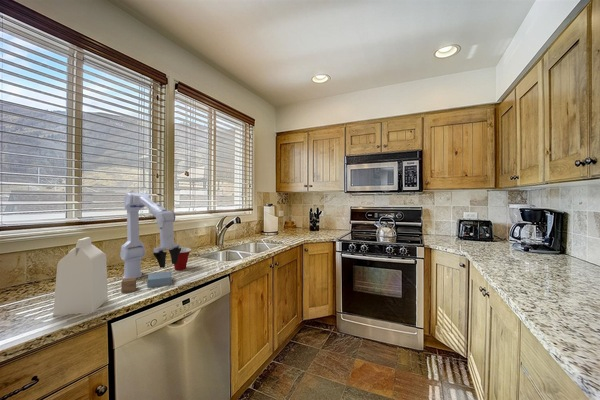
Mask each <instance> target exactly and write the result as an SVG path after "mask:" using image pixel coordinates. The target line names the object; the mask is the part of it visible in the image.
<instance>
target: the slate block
mask: <svg viewBox="0 0 600 400" xmlns="http://www.w3.org/2000/svg"><path fill="white" fill-rule="evenodd" d="M172 275H173V274H172V271H162V272H154V273H148V276H147V283H146V284H147V287H146V288H148V289H149V288H155V287H164V286H171V285H172V279H173V276H172Z"/></svg>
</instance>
